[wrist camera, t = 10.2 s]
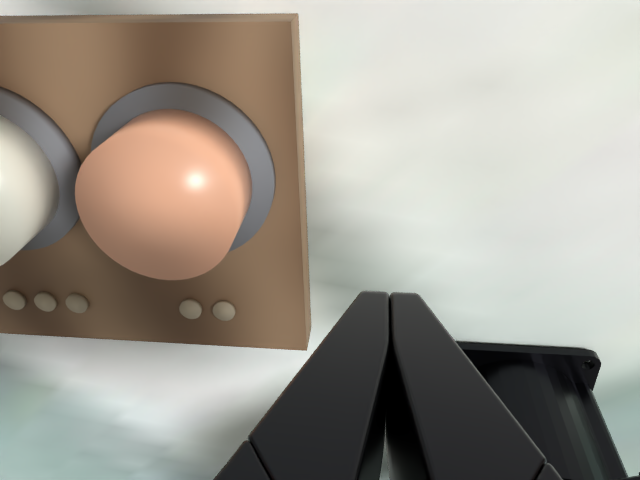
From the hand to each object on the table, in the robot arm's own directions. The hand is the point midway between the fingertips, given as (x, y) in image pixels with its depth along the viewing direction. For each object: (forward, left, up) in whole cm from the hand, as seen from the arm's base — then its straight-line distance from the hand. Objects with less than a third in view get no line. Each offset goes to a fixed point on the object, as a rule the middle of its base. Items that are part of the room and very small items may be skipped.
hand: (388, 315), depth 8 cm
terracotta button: (+7, +2, -10) cm, 12 cm away
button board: (+14, +4, -12) cm, 19 cm away
